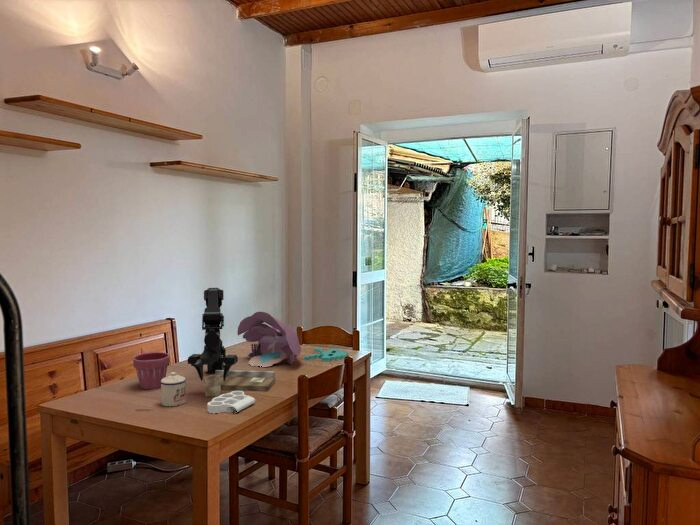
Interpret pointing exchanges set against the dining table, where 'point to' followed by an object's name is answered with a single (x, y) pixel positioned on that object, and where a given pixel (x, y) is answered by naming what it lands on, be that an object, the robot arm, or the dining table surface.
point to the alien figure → (327, 354)
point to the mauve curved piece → (269, 339)
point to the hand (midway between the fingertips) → (213, 380)
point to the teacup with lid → (173, 390)
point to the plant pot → (151, 368)
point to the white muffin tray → (230, 402)
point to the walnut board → (247, 380)
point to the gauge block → (213, 385)
